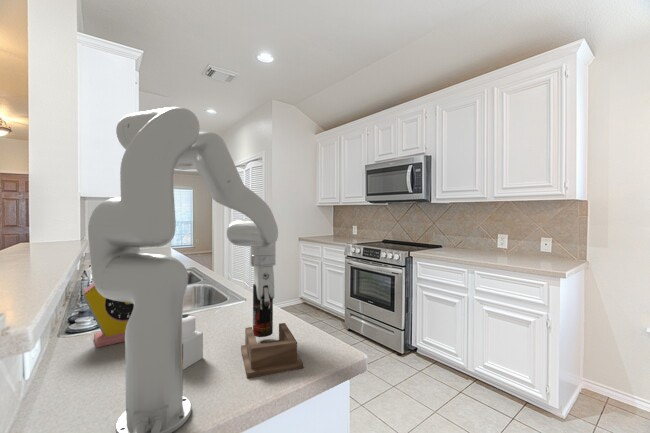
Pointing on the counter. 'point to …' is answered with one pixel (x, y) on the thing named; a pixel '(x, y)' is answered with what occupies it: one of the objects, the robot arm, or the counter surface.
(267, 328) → the deodorant
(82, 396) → the counter surface
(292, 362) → the cradle
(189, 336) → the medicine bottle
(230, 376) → the counter surface
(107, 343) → the yellow clock
